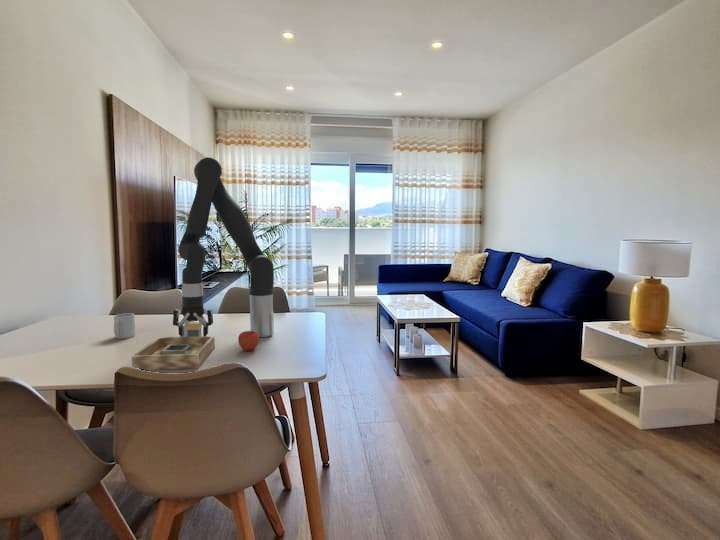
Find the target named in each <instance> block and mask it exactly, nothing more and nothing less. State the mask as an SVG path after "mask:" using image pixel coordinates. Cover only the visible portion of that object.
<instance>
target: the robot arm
mask: <svg viewBox="0 0 720 540" xmlns="http://www.w3.org/2000/svg"><path fill="white" fill-rule="evenodd" d="M193 169H194V170H193V173H194V176H195V178H196V181H197V185H196V190H195V194H194V198H193V202H192V204H191V207H190V210H189V213H188V219H187V222H186V228H185V229H186V230H185V231H184V234H183V236H182V237H181V239H180V243H179V245H178V246H179V247H178V253H179V257H180V258H181V259H182V260H185V261H186V265H185V267H184V268H183V269H182V272H181V275H182V276H181V278H182V281H181V282H182V283H181V284H182V285H181V286H182V287H181V303H182V306H181V307H182V308H181V309H179V308H176V309H174V310H173V311H172V312H173V314H172V315H173V316H172V325H173V326H175V327H177V328H178V335H179V337H183V336H184V324H185V322H186V321H187V320H188V321H194V322H200V323H201V324H202V337H203V336H208V334H209V326H212V325H213V324H214V315H213V309H212V308H209V309H205V308H204V286H203V268H204V264H205V259H206V251H205V247H203V244H201V243H200V240H201V238H203V237H204V236H206V232H207V228H208V223H209V219H210V213H211V208H212V207H211V206H212V205H213V207H214V210H215V211H216V214H217V215H218V217H219V219H220V221H221V223H222V224H223V226H224V228H225V230H226V232H227V233H228V235H229V237H230V238H231V239H232V241H233V242H234V243H235V245H236V246H237V248H238V249H239V251H240V253H241V254H242V256H243V259H244V261H245V264H246V267H247V268H248V271H249V273H250V286H249V314H250V316H249V318H250V319H249V321H250V322H249V323H250V325H249V326H250V330H249V331H254V332H256V333H257V334H258V335H259V338H267V337H273V336H274V333H275V328H274V327H275V326H274V325H275V324H274V323H275V322H274V321H275V319H274V317H275V316H274V315H275V314H274V309H273V307H274V304H273V303H274V300H273V294H274V293H273V290H274V281H275V280H274V279H275V278H274V276H275V275H274V274H275V272H274V269H275V268H274V264H273V261H272V260H271V259H270V257H267V256H266V255H265V253H264V252H263V250H262V249H261V247H260V246H259V244H258V243H257V241H256V238H255V234H254V232H253V229H252V225H250V222H249V220H248V217H247V216H246V214H245V213H244V211H243V209H242V207H241V206H240V205H239V203H237V201H236V200H235V198H233V196H231V194H230V193H229V192H228V190H227V189H226V186H225V185H224V183H223V181H222V178H221V175H222V174H223V168H222V166H221V164H220V162H219V161H218V159H216V158H214V157H203V158H202V159H200V160H199V161H198V162H197V163H196V165H194V168H193ZM204 314H205V315H206V316H207V320H206V318H205V317H204ZM180 315H182V316H183V317H182V319H181V320H180V321H179V318H180V317H179V316H180ZM252 329H253V330H252Z"/></svg>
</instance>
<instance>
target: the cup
mask: <svg viewBox="0 0 720 540" xmlns="http://www.w3.org/2000/svg"><path fill="white" fill-rule="evenodd" d="M135 319H136V318H135V313H132V312H129V313H127V312H126V313H118V314H115V315H114V316H113V322H114V324H113V333H114V337H115V339H117V338H118V340H124V339H131V338H134V337H135V336H136V320H135Z"/></svg>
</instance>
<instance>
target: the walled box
mask: <svg viewBox="0 0 720 540" xmlns="http://www.w3.org/2000/svg"><path fill="white" fill-rule="evenodd" d="M215 338H216V337H215V336H212V335H211V336H210V335H209V336H208V335H206V336H203V335H202V337H180V336H163V337H162V336H161V337H160V336H158V337H157V338H155V339H154V340H152V341H151V342H150V343H148V344H147V345H145V346H144V347H143V348H141V349H140V350H139V351H137V352H135V353H134V354H133V355H132V356H131V368H132V367H134V368H139V369H144V370H143V371H154V370H155V371H156V370H158V371H159V370H187V369H188V370H193V369H195V370H196V369H199V368H200V367H201V366H202V365H203V364H204V362H205V361H206V359H208V358H209V356H210V355H211V354H212V352H213V351H214V350H215V348H216V346H215V345H216V340H215ZM169 344H192V350H193V352H192V353H191V354H173V355H160V351H161V350H162V349H164V348H165V347H166V346H167V345H169Z"/></svg>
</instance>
